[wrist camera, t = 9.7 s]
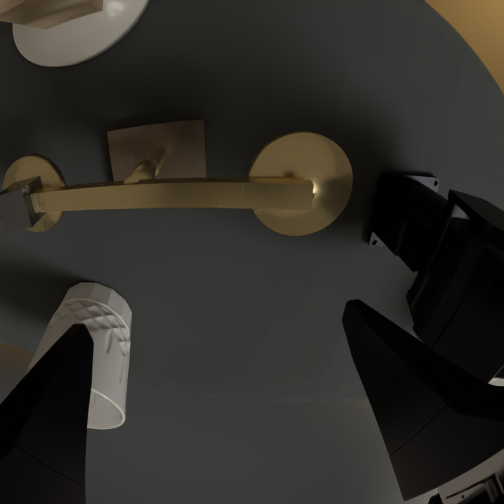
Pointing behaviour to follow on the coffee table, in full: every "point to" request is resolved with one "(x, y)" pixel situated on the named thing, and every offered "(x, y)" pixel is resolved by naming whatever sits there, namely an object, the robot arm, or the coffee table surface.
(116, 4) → the dish
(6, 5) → the block
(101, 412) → the white cup
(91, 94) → the coffee table surface
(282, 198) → the balance
